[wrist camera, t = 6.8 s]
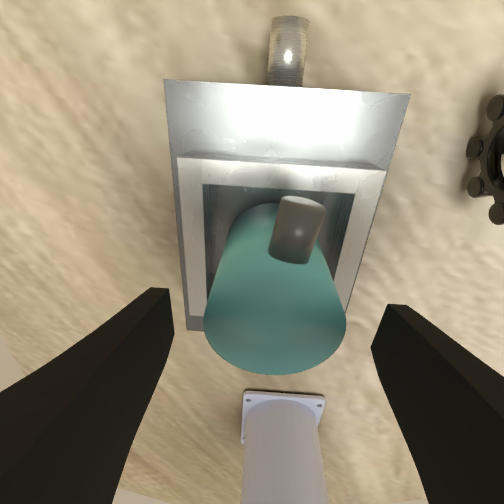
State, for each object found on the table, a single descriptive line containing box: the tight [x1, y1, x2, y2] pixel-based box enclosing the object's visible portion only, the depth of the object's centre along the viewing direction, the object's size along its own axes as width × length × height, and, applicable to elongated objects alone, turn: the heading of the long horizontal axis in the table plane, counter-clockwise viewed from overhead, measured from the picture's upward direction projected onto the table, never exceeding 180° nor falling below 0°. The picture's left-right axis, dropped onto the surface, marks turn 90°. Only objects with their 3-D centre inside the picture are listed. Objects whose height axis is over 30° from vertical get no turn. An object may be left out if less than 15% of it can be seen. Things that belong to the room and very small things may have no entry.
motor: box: [164, 16, 411, 331], centre depth 14 cm, size 16×10×5 cm, turn 177°
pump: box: [203, 196, 346, 375], centre depth 11 cm, size 6×5×6 cm
